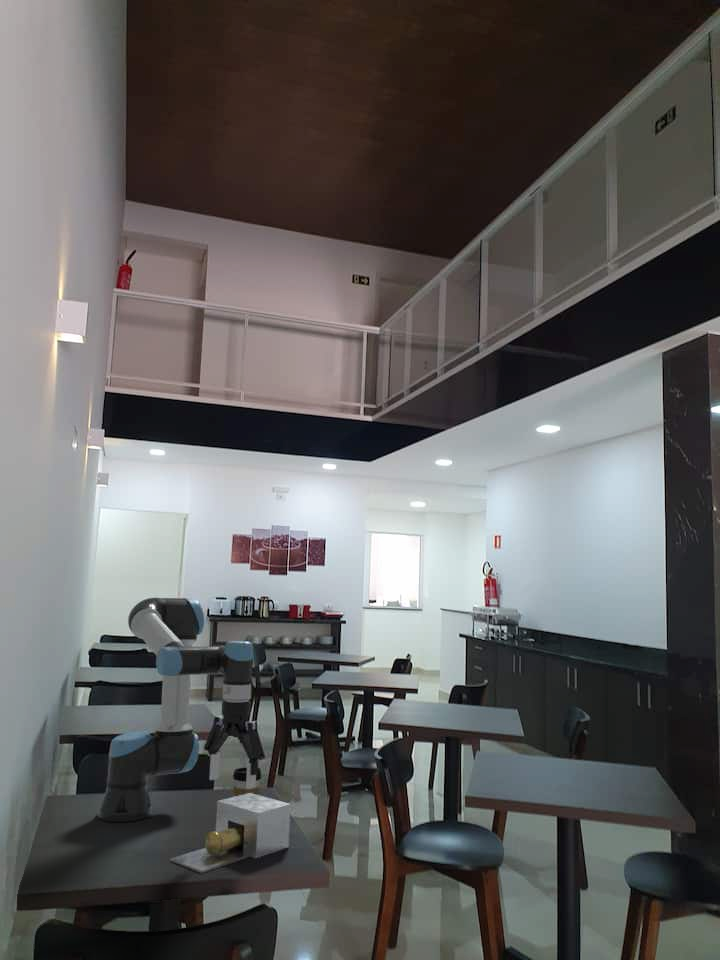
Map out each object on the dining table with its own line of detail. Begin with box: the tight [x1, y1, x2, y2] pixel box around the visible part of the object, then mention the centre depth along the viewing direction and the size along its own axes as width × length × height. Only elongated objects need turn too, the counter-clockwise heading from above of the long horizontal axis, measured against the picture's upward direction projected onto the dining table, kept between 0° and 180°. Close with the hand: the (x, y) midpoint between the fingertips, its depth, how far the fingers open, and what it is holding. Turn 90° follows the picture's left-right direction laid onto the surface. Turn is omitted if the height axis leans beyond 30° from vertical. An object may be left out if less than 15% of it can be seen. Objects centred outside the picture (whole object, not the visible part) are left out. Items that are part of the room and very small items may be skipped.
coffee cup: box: [232, 767, 262, 797], centre depth 220 cm, size 8×8×15 cm
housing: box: [170, 793, 291, 874], centre depth 193 cm, size 16×28×11 cm, turn 141°
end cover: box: [204, 825, 245, 856], centre depth 194 cm, size 6×14×6 cm, turn 141°
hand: (232, 783), depth 194 cm, fingers open, 13 cm apart
